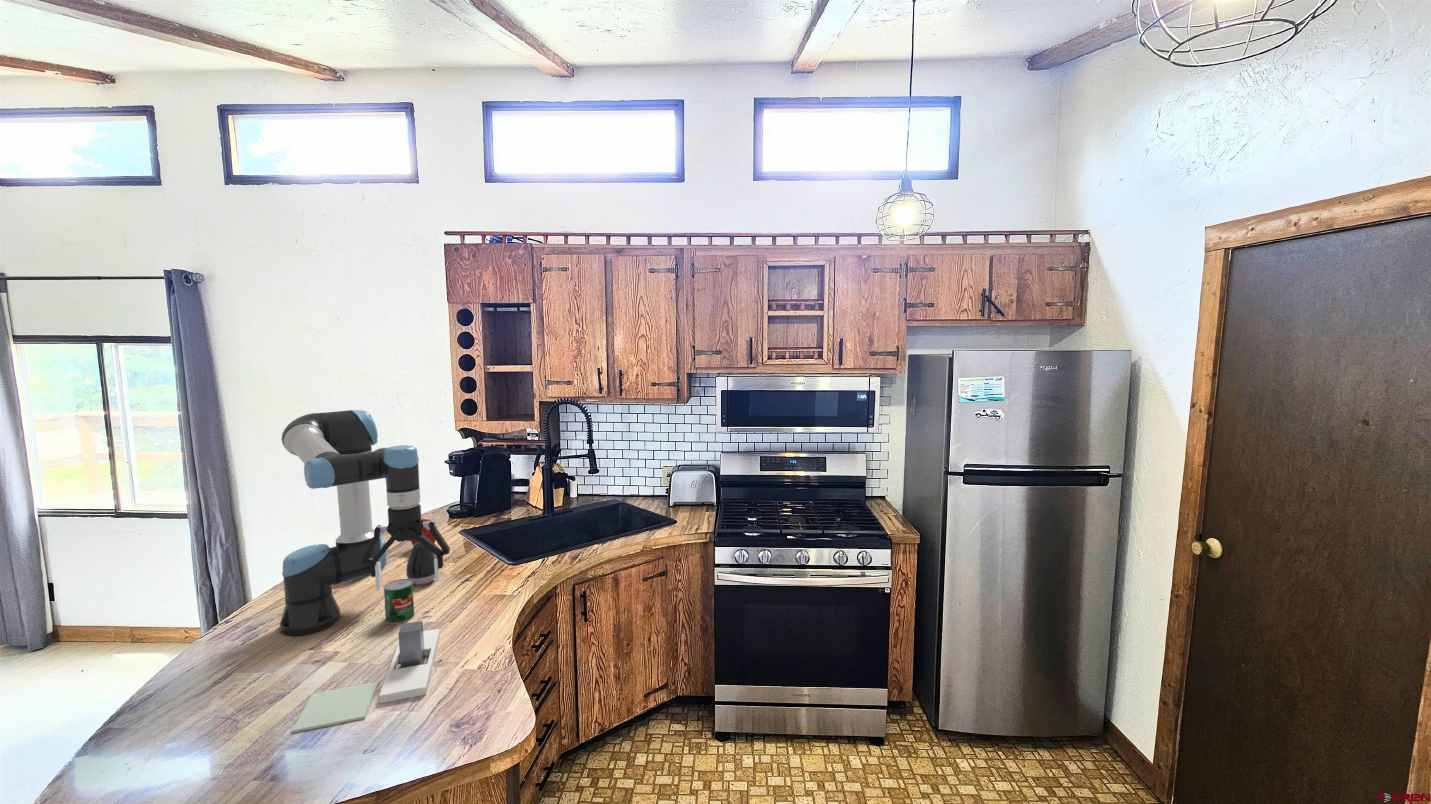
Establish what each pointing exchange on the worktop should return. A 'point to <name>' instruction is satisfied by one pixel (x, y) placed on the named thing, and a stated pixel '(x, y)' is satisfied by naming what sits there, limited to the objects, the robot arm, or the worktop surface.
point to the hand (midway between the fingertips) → (408, 584)
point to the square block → (411, 644)
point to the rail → (410, 673)
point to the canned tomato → (399, 601)
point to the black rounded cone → (420, 565)
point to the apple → (425, 533)
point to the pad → (336, 707)
